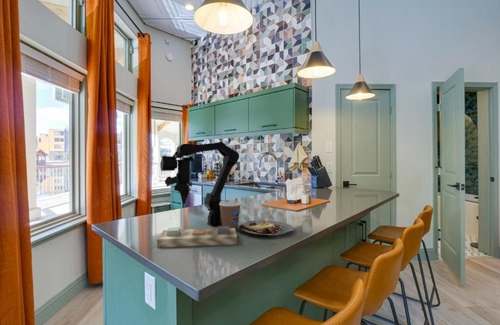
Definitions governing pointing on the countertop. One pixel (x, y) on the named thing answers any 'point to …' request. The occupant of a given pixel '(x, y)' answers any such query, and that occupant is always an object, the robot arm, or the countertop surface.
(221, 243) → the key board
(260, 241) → the countertop surface
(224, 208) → the coffee cup
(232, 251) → the countertop surface
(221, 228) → the charcoal key
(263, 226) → the food plate
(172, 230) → the sage green cube
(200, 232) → the terracotta key
